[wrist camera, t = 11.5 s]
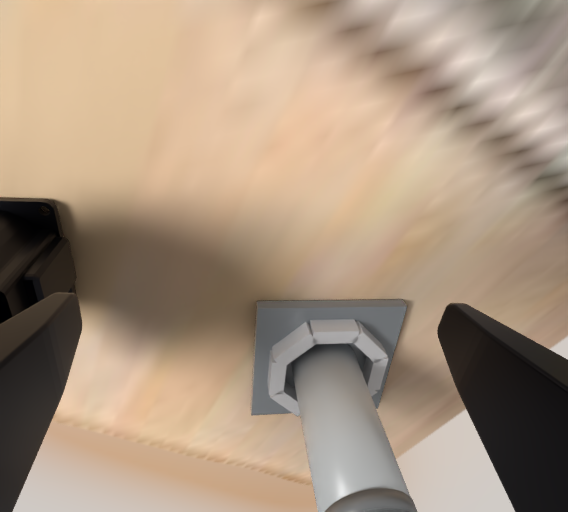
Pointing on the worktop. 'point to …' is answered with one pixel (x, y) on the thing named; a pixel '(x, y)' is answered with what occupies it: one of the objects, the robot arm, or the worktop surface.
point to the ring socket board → (320, 330)
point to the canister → (345, 435)
